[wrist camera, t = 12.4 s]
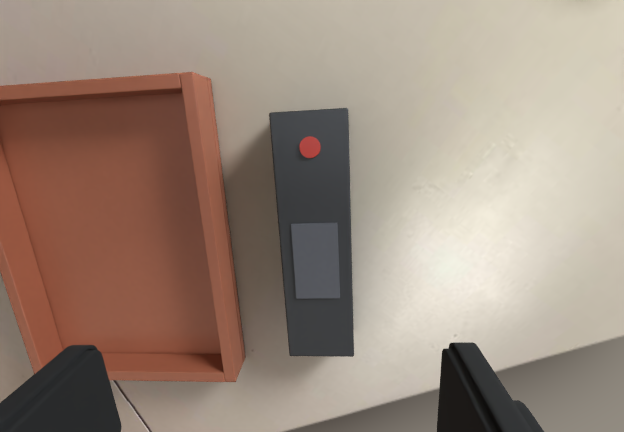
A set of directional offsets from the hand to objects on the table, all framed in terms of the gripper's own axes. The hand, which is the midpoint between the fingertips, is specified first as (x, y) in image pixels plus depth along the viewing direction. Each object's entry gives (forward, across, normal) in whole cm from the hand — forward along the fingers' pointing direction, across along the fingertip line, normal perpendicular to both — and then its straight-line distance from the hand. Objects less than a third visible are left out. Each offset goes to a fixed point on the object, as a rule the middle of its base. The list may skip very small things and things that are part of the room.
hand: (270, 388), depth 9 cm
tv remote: (+14, -1, 0) cm, 14 cm away
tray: (+14, +13, 0) cm, 20 cm away
